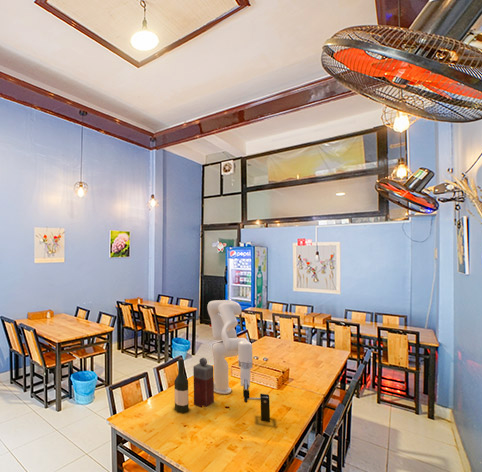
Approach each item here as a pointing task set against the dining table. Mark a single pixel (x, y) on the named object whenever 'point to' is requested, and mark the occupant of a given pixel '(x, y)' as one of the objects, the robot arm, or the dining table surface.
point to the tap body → (265, 408)
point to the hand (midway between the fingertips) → (246, 397)
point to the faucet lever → (252, 399)
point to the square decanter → (203, 384)
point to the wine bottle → (181, 389)
